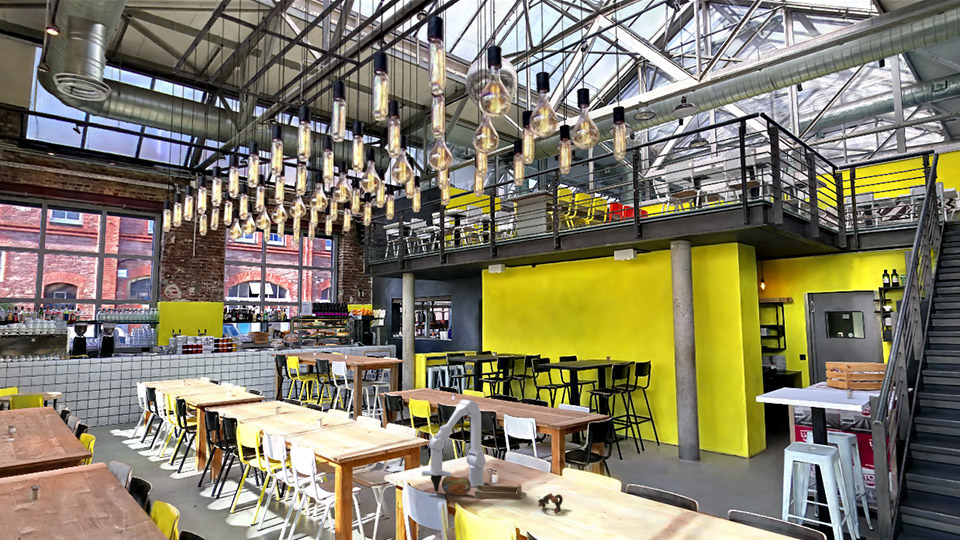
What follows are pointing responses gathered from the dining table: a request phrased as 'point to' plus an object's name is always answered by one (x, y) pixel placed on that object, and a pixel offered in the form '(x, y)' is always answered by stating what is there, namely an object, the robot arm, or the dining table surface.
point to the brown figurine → (553, 499)
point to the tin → (456, 485)
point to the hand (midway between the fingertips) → (436, 490)
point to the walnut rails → (498, 491)
